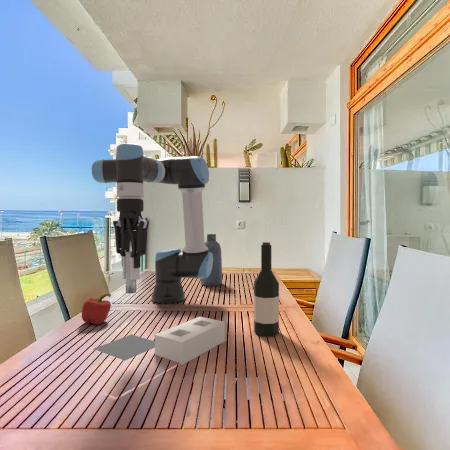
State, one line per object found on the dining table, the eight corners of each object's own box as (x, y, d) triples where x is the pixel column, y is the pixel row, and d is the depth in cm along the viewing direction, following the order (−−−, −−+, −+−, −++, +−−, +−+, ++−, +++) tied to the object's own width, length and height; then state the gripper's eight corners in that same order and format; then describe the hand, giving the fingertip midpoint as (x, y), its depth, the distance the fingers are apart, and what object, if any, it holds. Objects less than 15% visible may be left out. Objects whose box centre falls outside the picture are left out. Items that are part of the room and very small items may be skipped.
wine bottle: (280, 329, 114) (281, 241, 113) (276, 338, 106) (276, 243, 105) (257, 327, 117) (257, 241, 116) (250, 335, 109) (250, 243, 108)
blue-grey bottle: (226, 283, 192) (226, 234, 191) (214, 287, 182) (214, 235, 181) (209, 281, 199) (208, 233, 198) (196, 284, 188) (196, 234, 188)
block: (182, 365, 87) (181, 342, 87) (154, 356, 93) (154, 334, 93) (225, 341, 104) (225, 321, 104) (199, 334, 110) (199, 316, 109)
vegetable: (105, 316, 130) (105, 290, 130) (118, 322, 123) (117, 295, 122) (76, 322, 122) (76, 295, 122) (88, 329, 115) (87, 300, 115)
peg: (123, 292, 98) (123, 251, 98) (131, 290, 101) (131, 250, 100) (130, 294, 96) (129, 252, 96) (138, 292, 99) (138, 251, 98)
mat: (93, 349, 97) (93, 348, 97) (131, 335, 109) (131, 334, 109) (125, 361, 90) (125, 360, 90) (162, 344, 101) (162, 343, 101)
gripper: (102, 198, 99) (103, 277, 100) (138, 196, 90) (139, 283, 91) (123, 199, 105) (124, 274, 106) (158, 198, 96) (159, 279, 97)
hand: (131, 278), depth 98 cm, fingers closed on peg, 3 cm apart
